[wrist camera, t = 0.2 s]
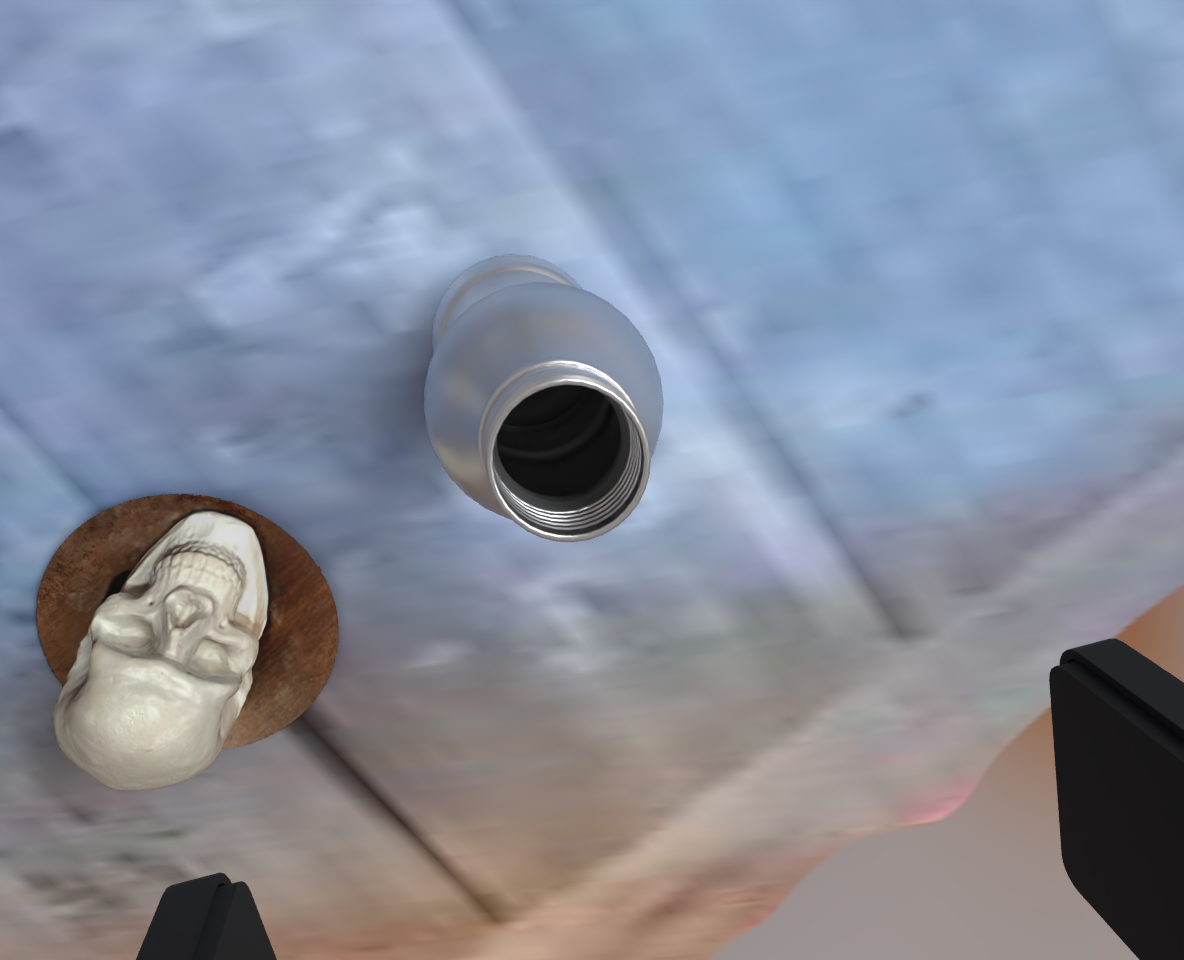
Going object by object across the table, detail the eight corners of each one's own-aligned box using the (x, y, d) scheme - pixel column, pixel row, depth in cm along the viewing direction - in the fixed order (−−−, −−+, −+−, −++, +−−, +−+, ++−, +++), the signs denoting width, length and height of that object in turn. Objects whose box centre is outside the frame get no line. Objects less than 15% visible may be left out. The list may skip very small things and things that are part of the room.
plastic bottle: (477, 439, 41) (500, 655, 22) (403, 290, 39) (357, 385, 20) (618, 374, 41) (761, 533, 22) (551, 221, 39) (646, 251, 20)
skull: (72, 431, 38) (201, 575, 32) (287, 475, 46) (417, 594, 41) (-48, 692, 40) (54, 869, 34) (180, 686, 48) (290, 827, 43)
